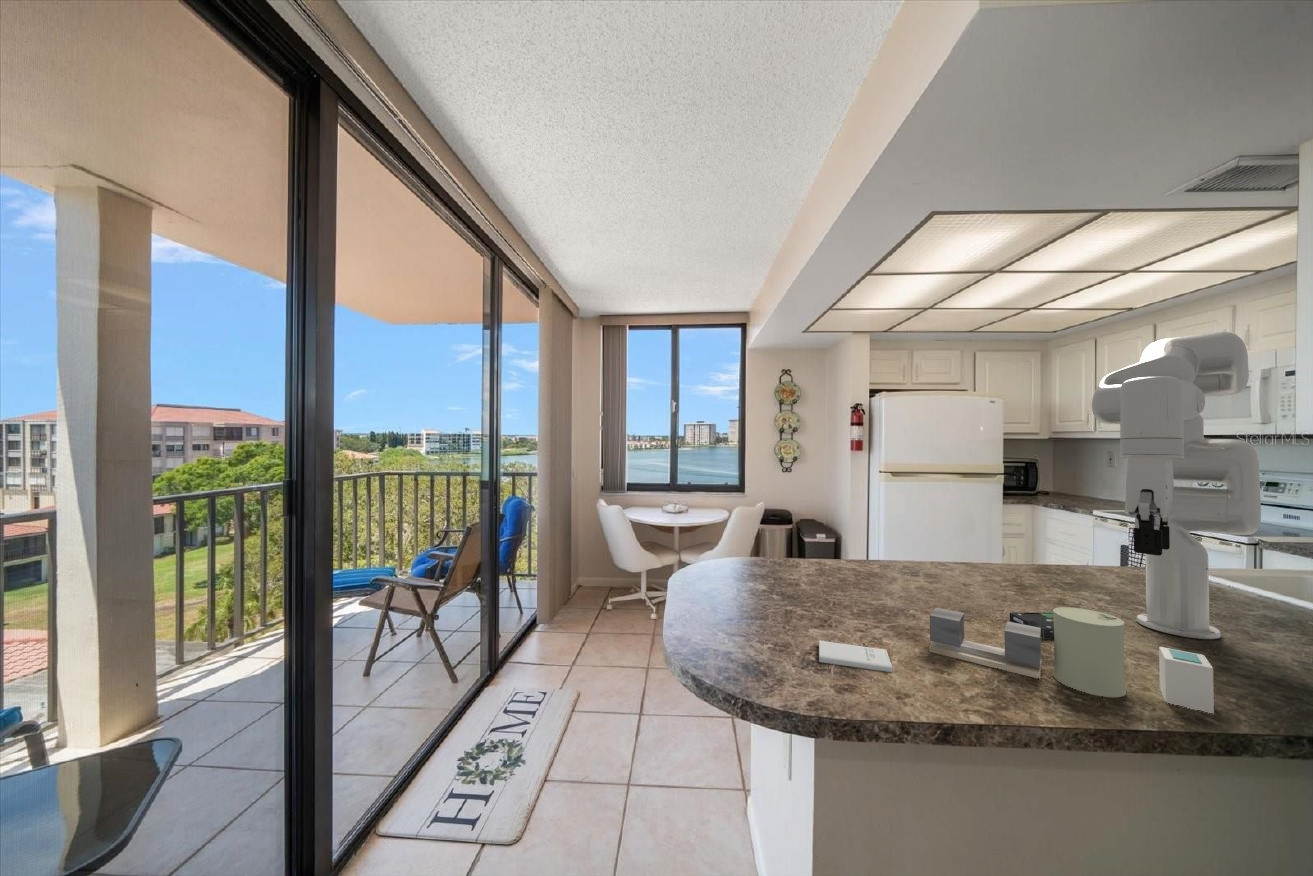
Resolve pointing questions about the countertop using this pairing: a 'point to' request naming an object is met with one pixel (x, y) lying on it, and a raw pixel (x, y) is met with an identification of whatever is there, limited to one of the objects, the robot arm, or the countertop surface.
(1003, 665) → the board
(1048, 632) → the disk drive
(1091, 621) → the can
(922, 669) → the countertop surface
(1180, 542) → the robot arm
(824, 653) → the external hard drive
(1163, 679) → the block
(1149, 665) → the countertop surface
